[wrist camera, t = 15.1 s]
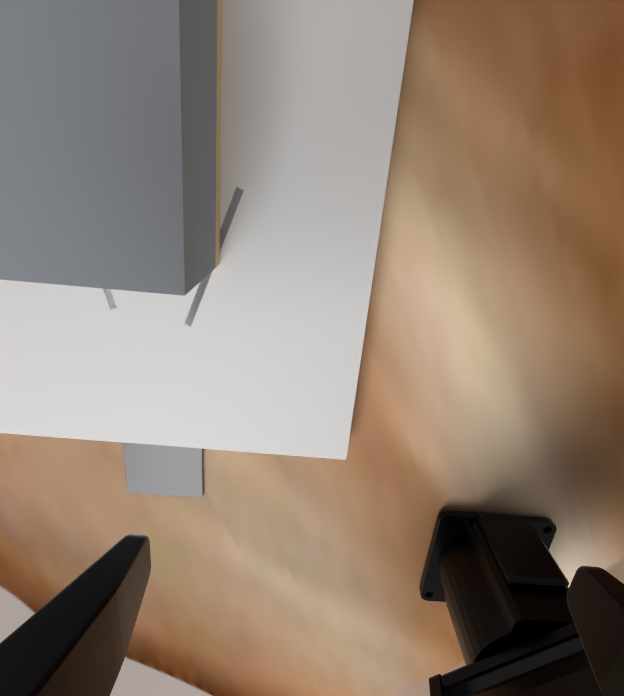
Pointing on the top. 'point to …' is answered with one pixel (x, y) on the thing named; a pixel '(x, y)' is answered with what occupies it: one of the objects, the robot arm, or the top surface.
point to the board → (240, 260)
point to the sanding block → (110, 142)
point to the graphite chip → (164, 470)
